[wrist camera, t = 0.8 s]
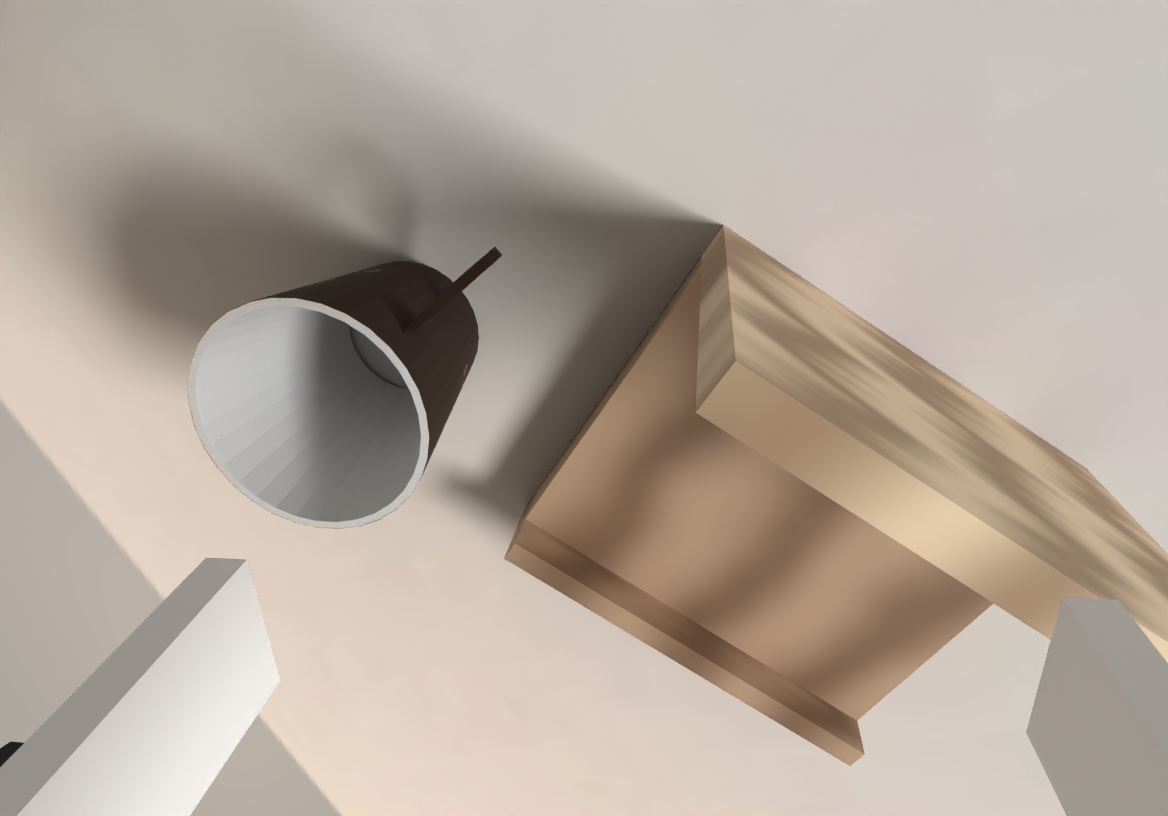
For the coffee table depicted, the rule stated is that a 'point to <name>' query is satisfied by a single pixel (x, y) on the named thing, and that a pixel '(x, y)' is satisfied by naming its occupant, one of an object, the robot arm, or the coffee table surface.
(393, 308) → the coffee mug
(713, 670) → the light brown blocky piece
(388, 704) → the coffee table surface
